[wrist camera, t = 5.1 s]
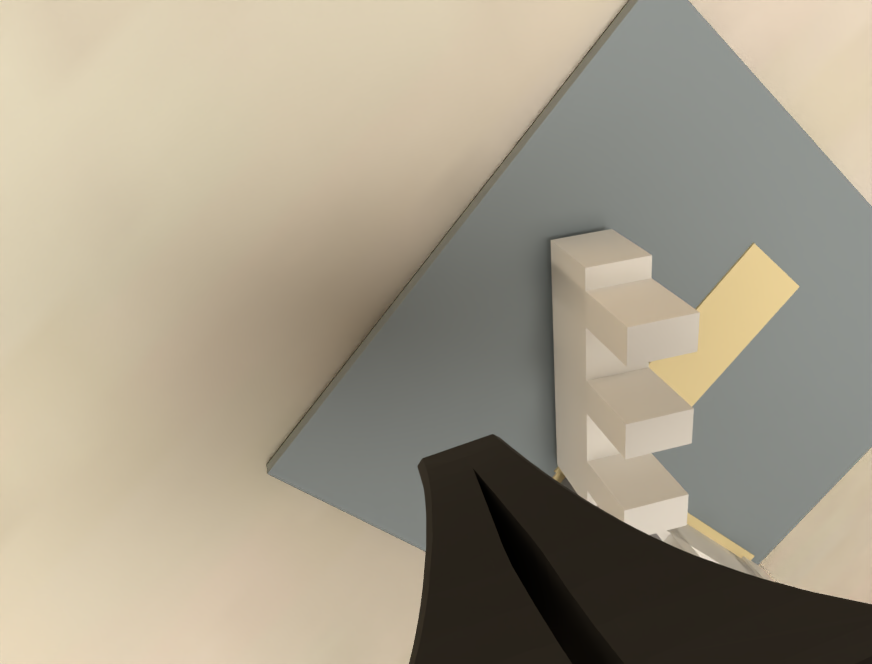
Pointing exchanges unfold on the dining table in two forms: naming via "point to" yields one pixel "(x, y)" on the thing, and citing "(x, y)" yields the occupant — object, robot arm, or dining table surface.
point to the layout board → (671, 267)
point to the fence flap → (618, 379)
